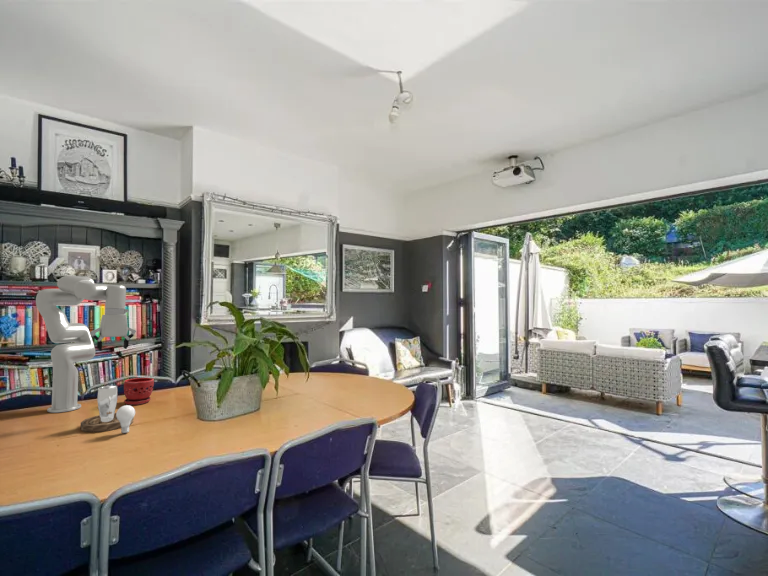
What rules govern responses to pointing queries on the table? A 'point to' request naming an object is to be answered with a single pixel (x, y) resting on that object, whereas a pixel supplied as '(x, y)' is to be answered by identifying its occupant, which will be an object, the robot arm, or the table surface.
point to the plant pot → (138, 390)
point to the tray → (99, 425)
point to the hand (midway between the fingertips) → (112, 349)
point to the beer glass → (107, 403)
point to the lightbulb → (125, 417)
